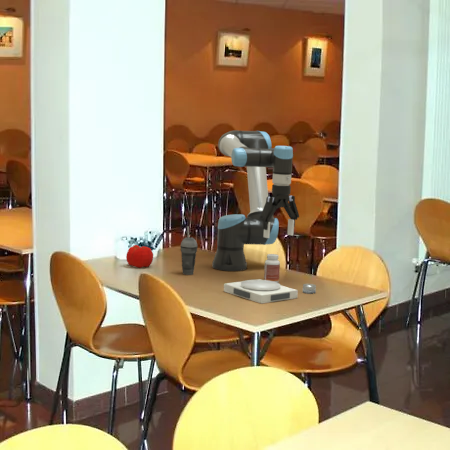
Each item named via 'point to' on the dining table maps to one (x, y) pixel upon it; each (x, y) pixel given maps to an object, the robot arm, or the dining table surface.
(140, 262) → the tomato
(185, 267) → the beverage cup
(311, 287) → the shiny grey dome
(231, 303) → the dining table surface
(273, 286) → the scale
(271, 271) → the pill bottle
